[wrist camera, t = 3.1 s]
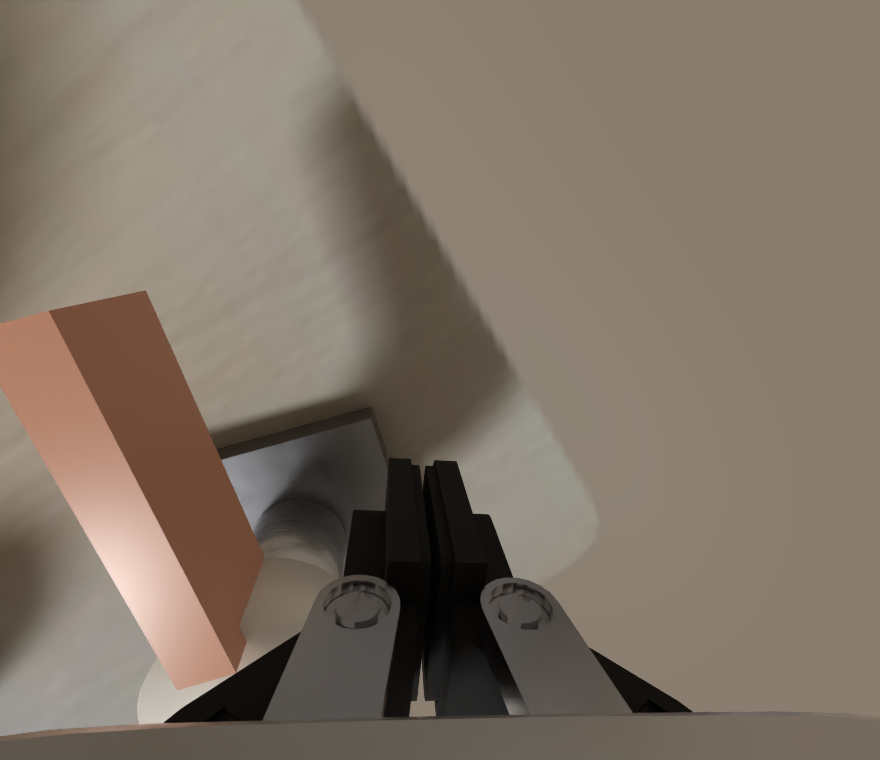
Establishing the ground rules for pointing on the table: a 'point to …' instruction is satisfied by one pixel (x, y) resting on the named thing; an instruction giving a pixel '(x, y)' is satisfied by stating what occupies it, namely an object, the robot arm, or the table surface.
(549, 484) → the table surface
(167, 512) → the orange bar with ball
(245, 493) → the coupling base
